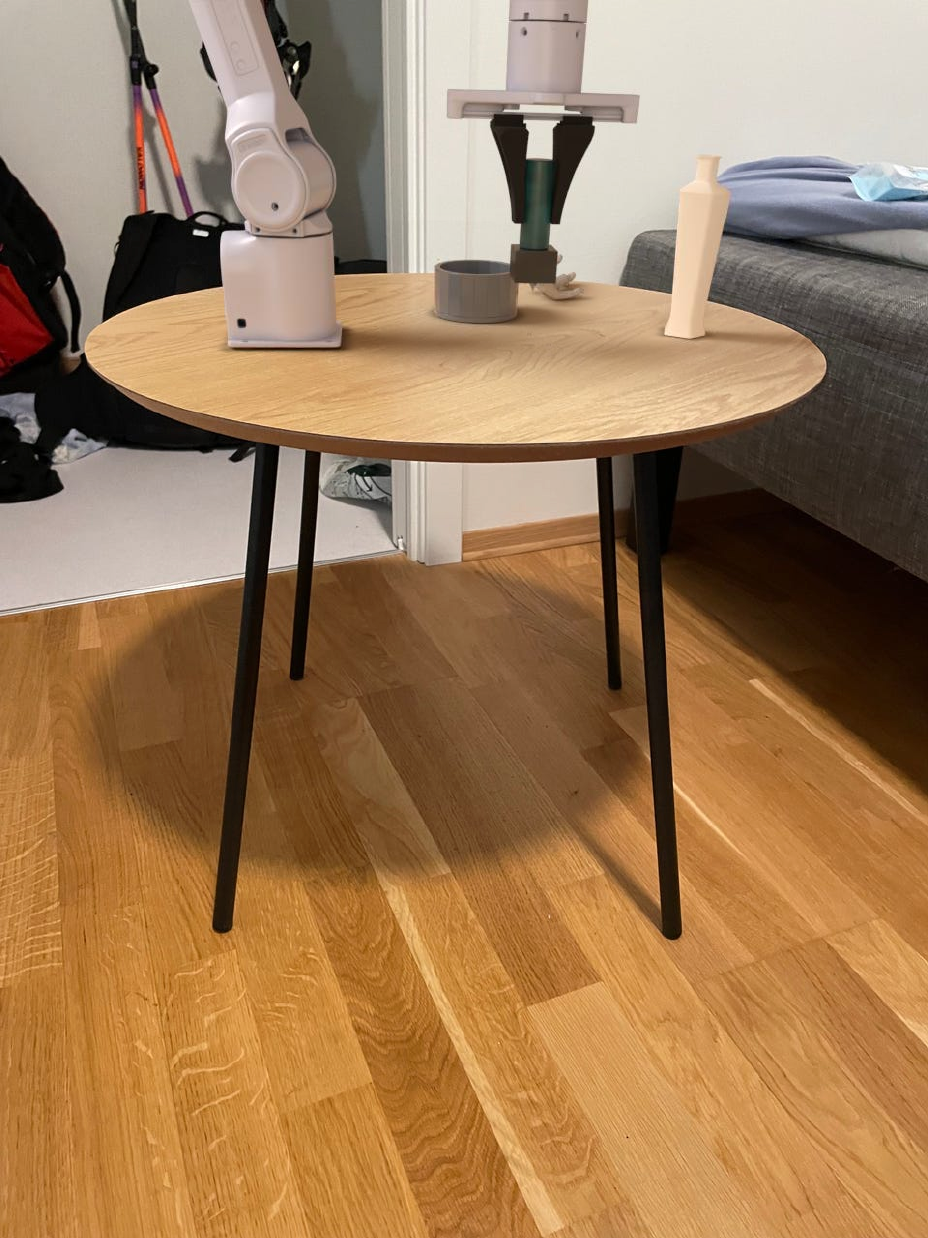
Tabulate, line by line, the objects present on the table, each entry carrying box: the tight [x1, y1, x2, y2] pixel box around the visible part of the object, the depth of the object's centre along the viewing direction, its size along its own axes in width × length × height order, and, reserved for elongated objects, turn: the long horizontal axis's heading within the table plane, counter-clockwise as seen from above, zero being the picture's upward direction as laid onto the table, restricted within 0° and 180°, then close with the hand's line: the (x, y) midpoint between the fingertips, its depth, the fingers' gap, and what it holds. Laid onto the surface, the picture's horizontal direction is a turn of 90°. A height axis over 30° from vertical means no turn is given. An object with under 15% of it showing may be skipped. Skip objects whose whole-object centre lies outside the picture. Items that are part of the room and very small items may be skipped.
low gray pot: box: [433, 259, 520, 324], centre depth 92 cm, size 8×8×4 cm
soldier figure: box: [528, 253, 585, 300], centre depth 101 cm, size 8×5×12 cm
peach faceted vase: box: [664, 154, 732, 339], centre depth 84 cm, size 5×4×15 cm
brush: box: [509, 157, 559, 284], centre depth 75 cm, size 3×3×9 cm
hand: (535, 222), depth 75 cm, fingers closed on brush, 2 cm apart
